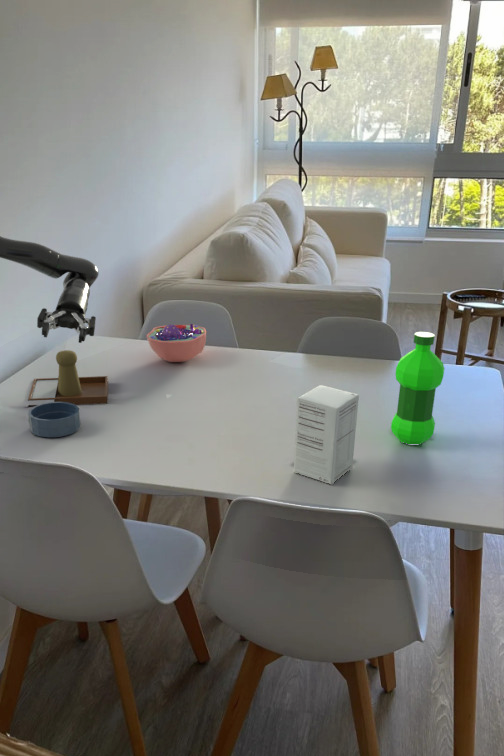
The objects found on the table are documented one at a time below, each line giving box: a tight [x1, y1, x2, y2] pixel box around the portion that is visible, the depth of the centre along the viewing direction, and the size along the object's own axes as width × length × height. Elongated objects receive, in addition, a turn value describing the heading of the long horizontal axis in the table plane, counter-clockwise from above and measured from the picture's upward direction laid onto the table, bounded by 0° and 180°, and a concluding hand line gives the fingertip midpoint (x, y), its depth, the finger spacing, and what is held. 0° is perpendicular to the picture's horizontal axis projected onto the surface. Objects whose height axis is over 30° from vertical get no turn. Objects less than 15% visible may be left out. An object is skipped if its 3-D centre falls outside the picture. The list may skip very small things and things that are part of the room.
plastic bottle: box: [390, 331, 445, 445], centre depth 156 cm, size 10×10×25 cm
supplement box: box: [293, 384, 360, 485], centre depth 143 cm, size 10×9×17 cm
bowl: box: [27, 401, 82, 438], centre depth 162 cm, size 11×11×4 cm
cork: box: [55, 349, 82, 397], centre depth 180 cm, size 6×6×11 cm
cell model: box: [146, 323, 207, 363], centre depth 208 cm, size 17×20×11 cm
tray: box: [27, 375, 109, 408], centre depth 183 cm, size 19×15×2 cm
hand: (62, 337), depth 176 cm, fingers open, 8 cm apart
